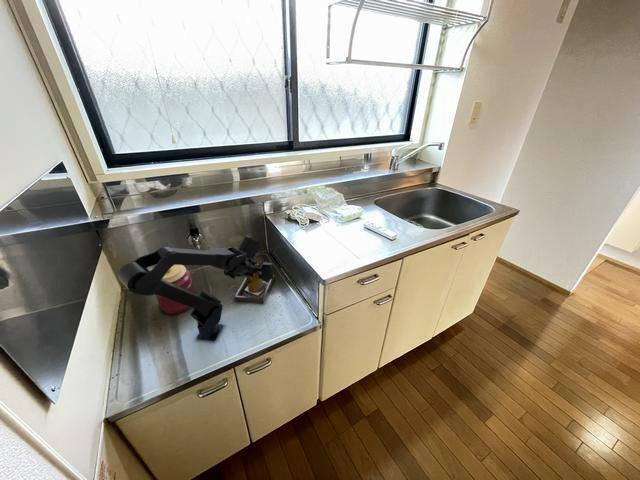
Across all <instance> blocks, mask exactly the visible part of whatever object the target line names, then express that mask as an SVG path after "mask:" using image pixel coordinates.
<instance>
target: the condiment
mask: <svg viewBox="0 0 640 480" xmlns="http://www.w3.org/2000/svg"><path fill="white" fill-rule="evenodd" d="M256 265H260V264H259V262H257V264H256ZM258 269H259V268H258ZM258 277H259V273H258V271H255V274H254V276H253V277H248V276H245V278H247V284H246V285H247V286H246V287H245V288H244V289H243V291H245V292H246V293H247V292H248V293H250V294H253V295H256V296H259V295H260V294H261V293H263V291H265V290H266V288H267V285H268V283H269V281H265V280H263V279H259V278H258Z"/></svg>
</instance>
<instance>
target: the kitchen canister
mask: <svg viewBox="0 0 640 480" xmlns="http://www.w3.org/2000/svg"><path fill="white" fill-rule="evenodd" d="M162 279H163V280H165V281H167V282H170V283H172V284H174V285H177V286H179V287H181V288H184V289H186V290H188V291H190V292H193V293H195V294H197V292H196V290H195V287H194V284H193V279H192V277H191V273H190V270H188V269H187V268H186V266H185V265H174V266H172V267H171V268H170V269H169V270H168V271H167V273H166V274H165V276H164V277H163V278H162ZM155 298H156V300H157V303H158V306H159V308H160V310H161V311H162V312H163V313H165V314H170V315H171V314H172V315H173V314H175V315H176V314H179V313H182V312H184V311H186V310H188V309H191V307H188V306H185V305H183V304H180V303H177V302H175V301H172V300H169V299H166V298H164V297H161V296H158V295H155Z"/></svg>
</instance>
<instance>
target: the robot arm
mask: <svg viewBox="0 0 640 480" xmlns="http://www.w3.org/2000/svg"><path fill="white" fill-rule="evenodd" d="M262 245H263V243H261V242H260V241H258V240H256V239H255V238H252V237H250V236H248V235H245V236H244V238H243V240H242V242H241V243H240V245H239V247H235V246H234V245H233V246H230V247H214V248H212V249H210V250H206V249H205V250H204V249H191V248H178V247H169V246H162V247H159V248H158V249H155V251H153V252H149V253H148V254H144V255H142V256H140V257H137V258H136V259H134V260H133V261H131V262H128V263H126V264H124V265H122V266H121V268H120V269H119V270H118V273H117V278H118V280H119V281H120V282H121V284H123V286H125V287H126V289H127V290H128V291H129V292H131V293H132V294H134V295H139V296H147V297H148V296H156V295H158V296H161V297H164V298H166V299H169V300H172V301H175V302H177V303H180V304H183V305H185V306H188V307H190V309H192V311H191V312H190V316H191V317H192V318H193V319H194V320H195V321H196V323H197V326H196V327H197V330H198V335H196V339H197V340H200V341H201V340H202V341H210V342H214V341H216V340H217V338H218V337H219V335H220V333H221V331H222V330H223V327H224V325H223V324H219V323H221V317H222V312H223V311H222V310H223V304H222V301H221V300H220V299H218V298H217V297H216V296H215V295H213V294H212V293H211V292H207V291H205V290H204V289H202V290H201V291H200V293H196V294H195V293H193V292H190V291H188V290H186V289H184V288H181V287H179V286H177V285H174V284H172V283H170V282H167V281H165V280H163V279H162V278H163V277H164V276H165V274H166V273H167V271H168V270H169V269H170V268H171V267H172V266H174V265H183V266H210V267H214V268H217V269H220V270H223V274H224V276H227V277H229V278H231V279H233V280H235V279H236V277H246V276H248V277H253V276H254V274H255V271H258V273H259V277H258V278H259V279H262V280H268V281H270V280H271V279H273V275H274V272H275V266H276V265H275V264H274V262H260V264H259V265H256V264H257V263H258V261H257V257H258V254H259V250H260V249H261V247H262ZM152 266H154V267H153V268H152V269H151V270H150V269H149V267H150V268H151V267H152ZM258 268H259V269H258Z"/></svg>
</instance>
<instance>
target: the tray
mask: <svg viewBox="0 0 640 480" xmlns="http://www.w3.org/2000/svg"><path fill="white" fill-rule="evenodd" d="M274 281H275V274H273V279H271V280H268V285H267V287H266V288H265V289H264V292H263V294H262V296H261V297H254V296H247V295H245V296H244V295H242V293H243V291H244V289H246V287H247V285H248V284H247V278H246V277H245V278H244V279H243V281H242V283H241V285H240V286H239V288H238V289H237V291H236V293H235V294H234V301H235V302H241V303H243V302H244V303H251V304H261V305H262V304H263V305H264V303H265V302H266V300H267V297H268V294H269V292H270V291H271V287H272V285H273V283H274Z"/></svg>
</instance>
